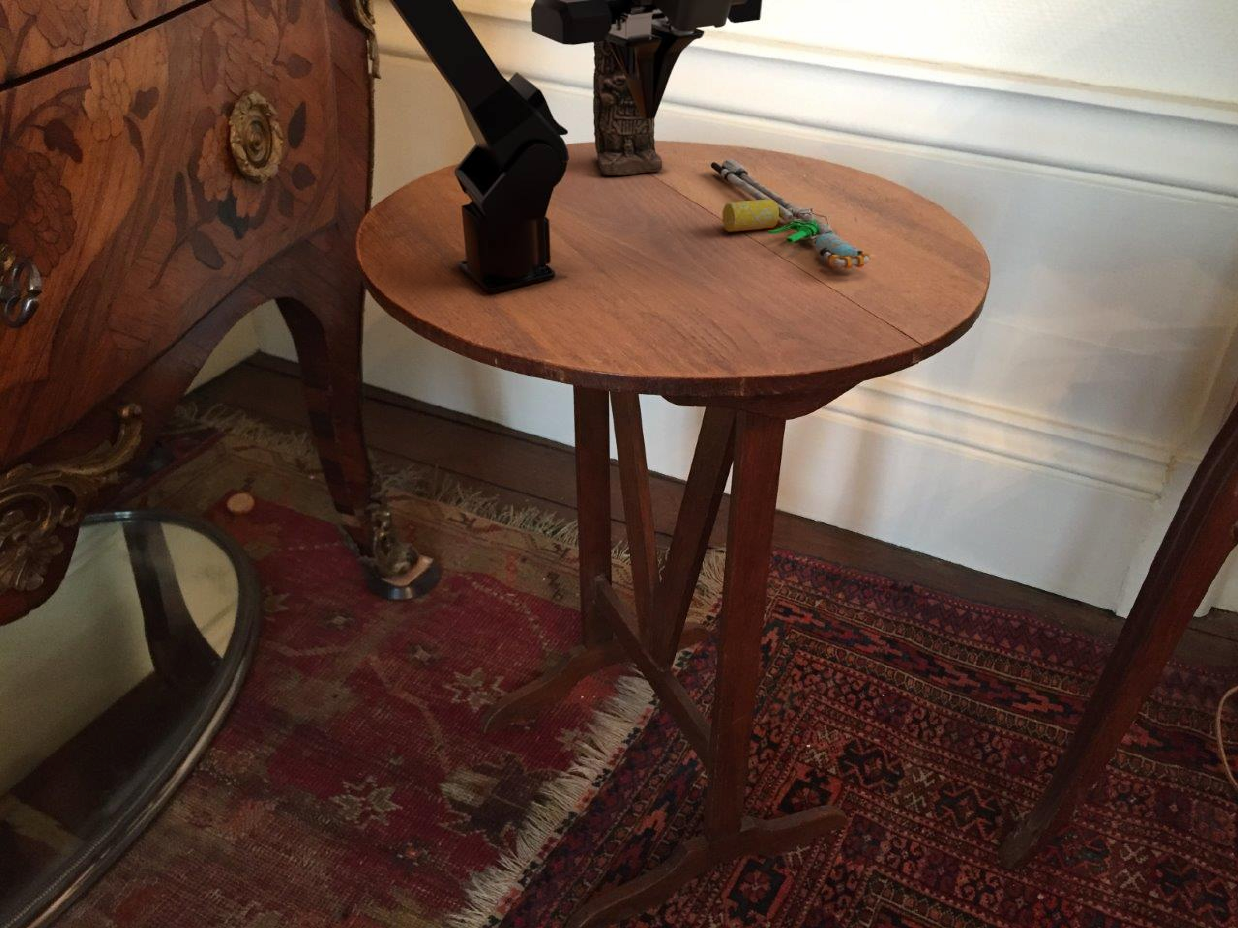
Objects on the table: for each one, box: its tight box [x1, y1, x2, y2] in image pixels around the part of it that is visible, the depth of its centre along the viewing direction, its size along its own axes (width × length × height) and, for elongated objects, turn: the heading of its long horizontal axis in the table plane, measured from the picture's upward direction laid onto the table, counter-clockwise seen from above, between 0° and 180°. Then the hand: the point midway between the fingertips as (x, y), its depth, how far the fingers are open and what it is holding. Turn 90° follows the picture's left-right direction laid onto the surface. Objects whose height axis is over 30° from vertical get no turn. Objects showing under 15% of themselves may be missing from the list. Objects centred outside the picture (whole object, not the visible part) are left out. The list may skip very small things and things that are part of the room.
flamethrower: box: [710, 158, 870, 270], centre depth 94 cm, size 29×3×10 cm
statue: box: [592, 7, 663, 176], centre depth 102 cm, size 7×7×20 cm
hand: (647, 118), depth 81 cm, fingers closed
